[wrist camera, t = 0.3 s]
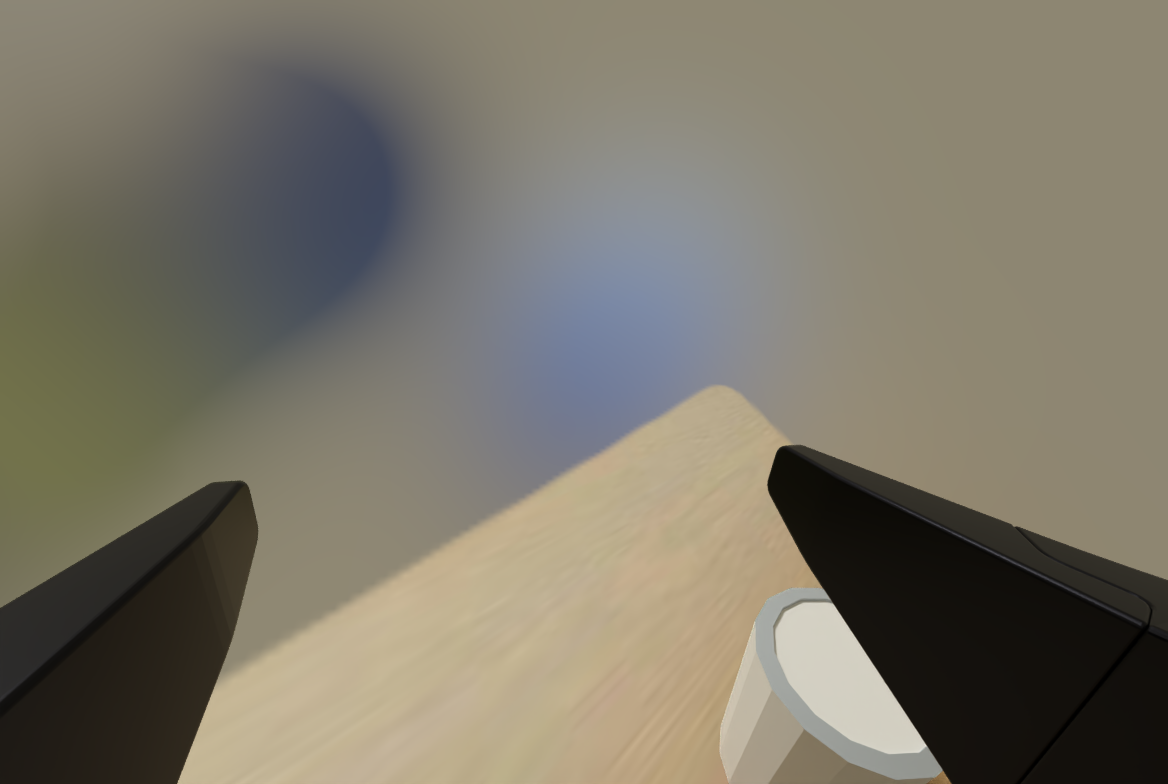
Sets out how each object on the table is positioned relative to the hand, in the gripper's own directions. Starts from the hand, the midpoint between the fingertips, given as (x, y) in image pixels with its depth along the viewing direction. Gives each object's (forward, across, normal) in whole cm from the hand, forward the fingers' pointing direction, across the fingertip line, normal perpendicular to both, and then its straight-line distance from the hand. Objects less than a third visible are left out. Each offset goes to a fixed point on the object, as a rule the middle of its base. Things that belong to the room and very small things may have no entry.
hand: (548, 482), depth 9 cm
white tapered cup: (+2, -12, +17) cm, 21 cm away
